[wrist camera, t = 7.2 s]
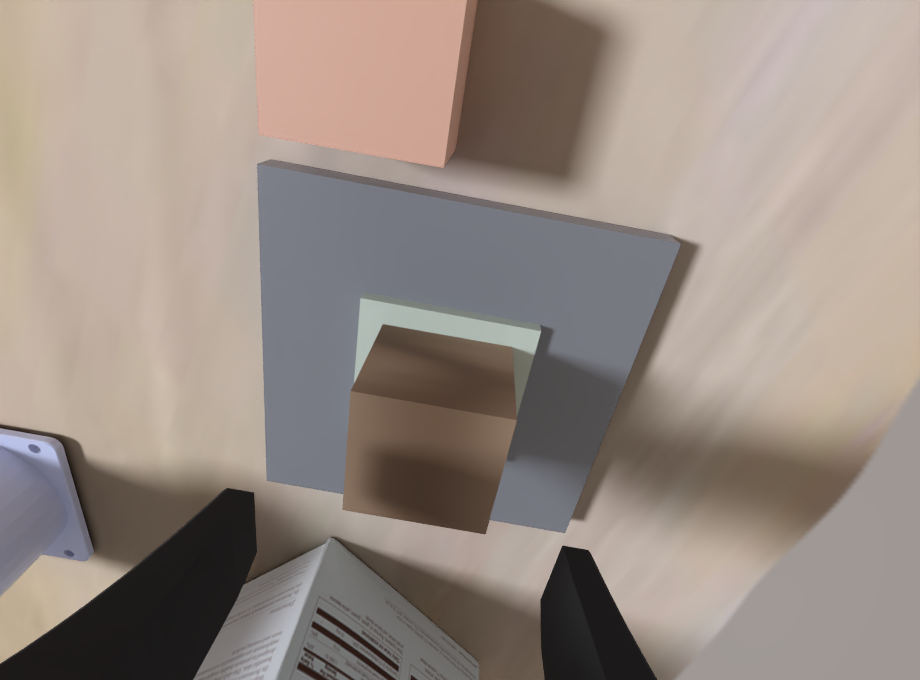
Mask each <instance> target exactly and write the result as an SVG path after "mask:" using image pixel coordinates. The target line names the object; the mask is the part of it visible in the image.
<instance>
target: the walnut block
mask: <svg viewBox="0 0 920 680" xmlns="http://www.w3.org/2000/svg"><path fill="white" fill-rule="evenodd" d="M516 422H517V412H516V396H515V380H514V363H513V347H509V346H504V345H498V344H493V343H487V342H481V341H476V340H470V339H465V338H459V337H453V336H448V335H442V334H436V333H431V332H425V331H420V330H414V329H408V328H403V327H397V326H391V325H386V324H383V325H382V327H381V329H380V331H379V333H378V335H377V337H376V339H375V341H374V343H373V345H372V348H371V350H370V352H369V354H368V356H367V358H366V360H365V362H364V364H363V366H362V368H361V370H360V372H359V374H358V377H357V379H356V381H355V383H354V385H353V387H352V389H351V391H350V406H349V421H348V436H347V451H346V466H345V481H344V496H343V510H346V511H352V512H358V513H364V514H370V515H376V516H382V517H387V518H393V519H399V520H405V521H411V522H417V523H422V524H428V525H434V526H440V527H446V528H452V529H458V530H463V531H469V532H475V533H481V534H486V530H487V527H488V523H489V520H490V516H491V512H492V509H493V505H494V502H495V498H496V494H497V491H498V487H499V483H500V480H501V476H502V473H503V469H504V465H505V462H506V458H507V455H508V451H509V447H510V444H511V440H512V437H513V433H514V429H515V426H516Z"/></svg>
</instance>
